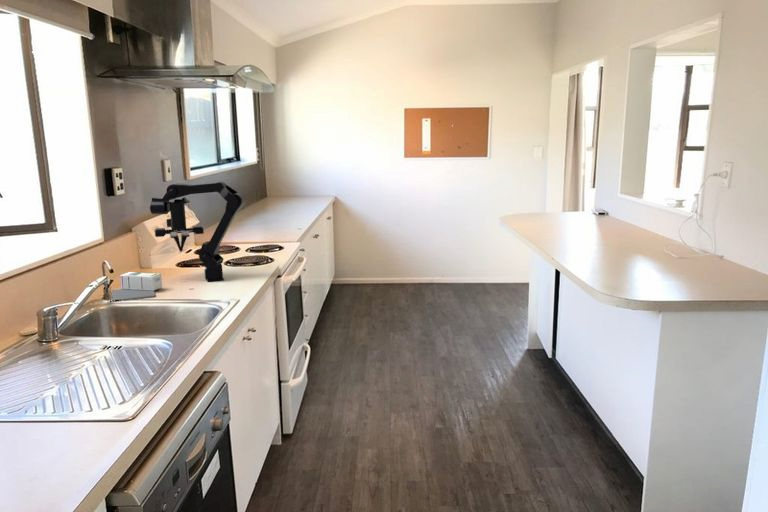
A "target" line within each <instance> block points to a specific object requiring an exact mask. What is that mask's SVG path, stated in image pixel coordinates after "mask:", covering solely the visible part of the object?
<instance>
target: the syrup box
mask: <svg viewBox="0 0 768 512" xmlns="http://www.w3.org/2000/svg"><path fill="white" fill-rule="evenodd" d="M119 276H120V278H119V281H120V287H121V288H120V289H132V290H148V291H154V292H155V291H157V290H158V289H162V288H163V282H162V280H163V279H162V278H163V277H162V273H157V272H156V273H155V272H137V271H129V272H126V273H123V274H119Z"/></svg>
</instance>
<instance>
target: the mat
mask: <svg viewBox="0 0 768 512" xmlns="http://www.w3.org/2000/svg"><path fill="white" fill-rule="evenodd" d="M110 290H111V291H112V294H113V299H111V300H112V301H114V300H124V301H129V300H128V299H133V300H139V299H142V300H143V299H150V298H156V294H155V293H156V292H155V290H154V291H148V290H132V289H122V288H118V289H110ZM111 300H110V301H111ZM108 301H109V300H108V299H107V302H108Z"/></svg>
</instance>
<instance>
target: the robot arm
mask: <svg viewBox="0 0 768 512" xmlns="http://www.w3.org/2000/svg"><path fill="white" fill-rule="evenodd" d="M208 193H218V194H219V195H220V196H221V197H222V198H223V199H224V200H225V201H226V205H225V211H224V213H223V215H222V217H221V219H220V221H219V223H218V224H217V227H216V228H215V231H214V233H213V234H212V236H211V237H210V240H209V241H205V242H203V243H202V244H201V248H200V250H199V251H198V258H199V260H200V262H202V263H203V266H204V278H205V280H206V281H207V282H208V283H209V282H219V281H224V279H225V278H224V276H223V275H224V274H223V263H224V257H223V256H221V255H220V253H219V251H220V249H221V248H220V247H221V243H222V241H223V240H224V237H225V235H226V233H227V231H228V230H229V228H230V226H231V224H232V222H233V220H234V218H235V216H236V215H237V214H238V213H239V212H240V211H241V210H242V209H243V207H244V205H246V202H247V198H246V195H244V194H243V193H241V192H238V191H237V190H235V188H233V187H231V186H230V185H228V184H227V183H225V181H218V182H210V183H209V182H208V183H200V184H199V183H198V184H188V183H180V182H179V183H178V182H177V183H172V184H169V185H168V186H167V187H166V192H165V193H164V195H163V197H161V198H160V197H152V198H151V202H150V204H149V205H150V206H149V210H150V213H151V214H152V215H168V214H169V215H170V218H167V219H166V220H165V221H166V228H170V229H166V228H165V227H158V228H155V229H154V237H156V238H161V237H165V236H166V235H169V237H170V238H171V239H174V241H175V244H176V245H177V248H178V250H179V253H181V252H183V250H184V246H185V243H186V240H187V238H189V237H190V233H194V234H195V235H204V232H205V230H204V227H203V226H202V225H192V226H191V227H190V228H189V227H188V228H187V219H186V206H185V204H189V203H190V200H189V199H187V198H186V197H187V196H189V195H196V194H208ZM185 196H186V197H185ZM181 197H182V198H181ZM178 198H179V199H178ZM172 200H173V201H172ZM178 234H180V238H179V235H178Z"/></svg>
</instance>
